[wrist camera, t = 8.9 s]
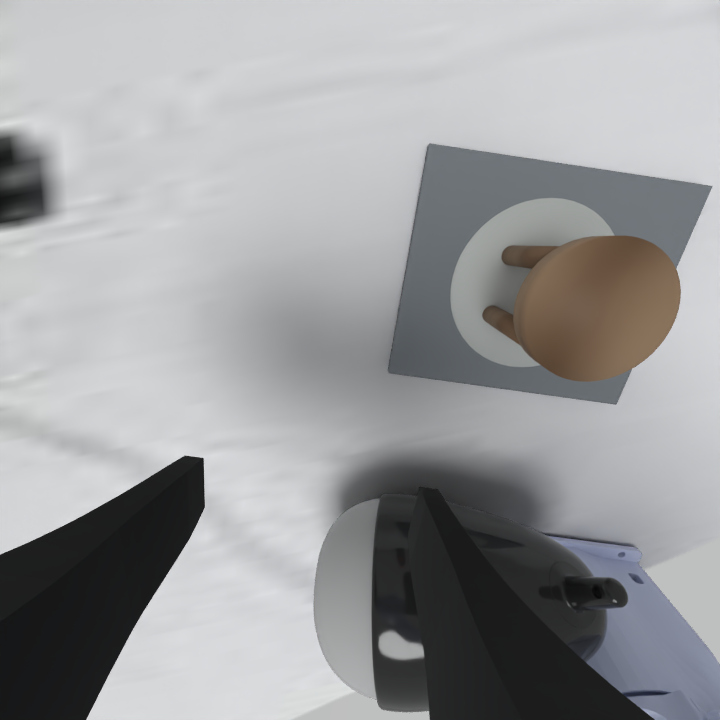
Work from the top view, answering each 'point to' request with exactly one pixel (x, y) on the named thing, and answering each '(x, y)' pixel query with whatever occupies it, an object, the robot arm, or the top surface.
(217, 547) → the top surface
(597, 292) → the stool
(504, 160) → the mat
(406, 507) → the black ball
